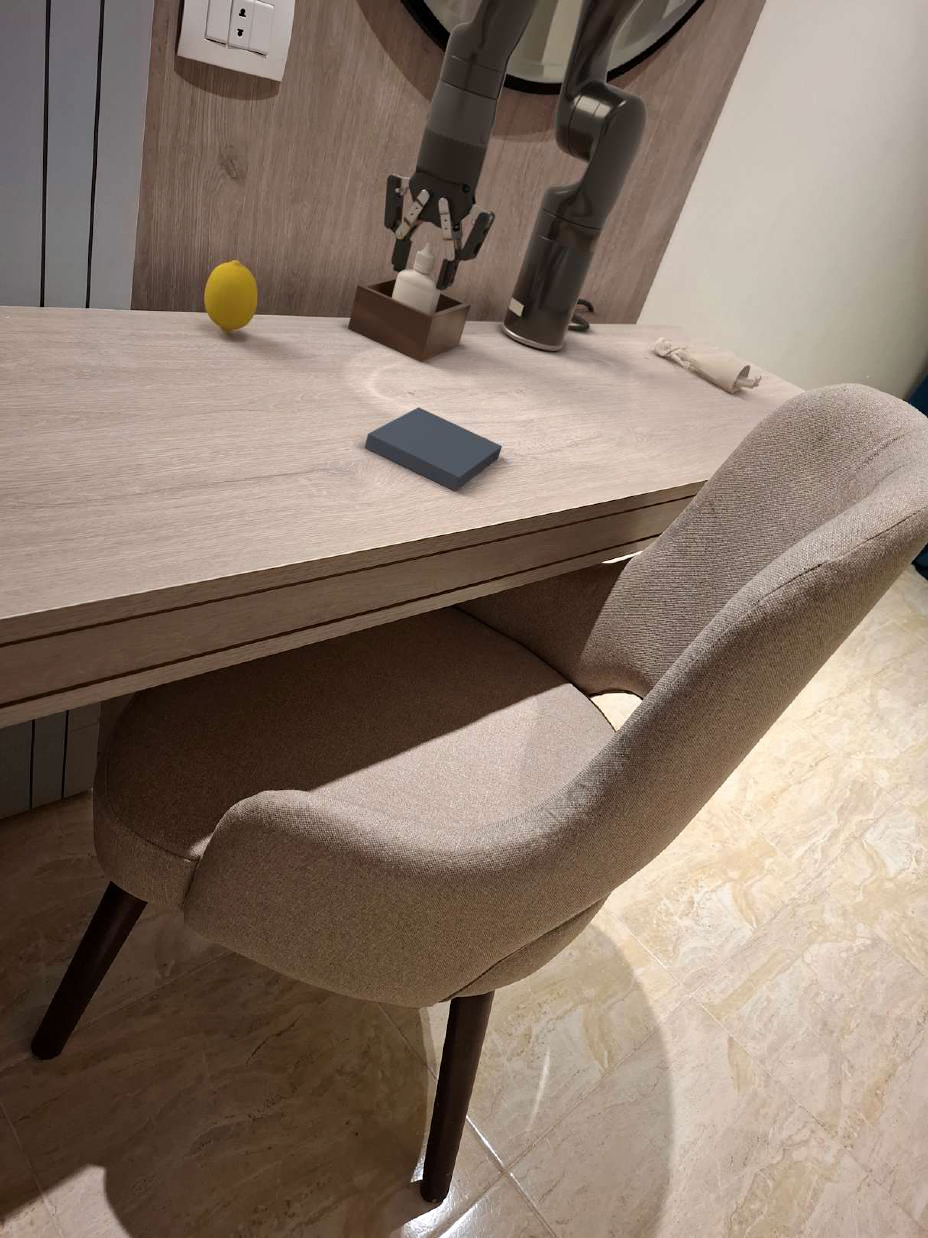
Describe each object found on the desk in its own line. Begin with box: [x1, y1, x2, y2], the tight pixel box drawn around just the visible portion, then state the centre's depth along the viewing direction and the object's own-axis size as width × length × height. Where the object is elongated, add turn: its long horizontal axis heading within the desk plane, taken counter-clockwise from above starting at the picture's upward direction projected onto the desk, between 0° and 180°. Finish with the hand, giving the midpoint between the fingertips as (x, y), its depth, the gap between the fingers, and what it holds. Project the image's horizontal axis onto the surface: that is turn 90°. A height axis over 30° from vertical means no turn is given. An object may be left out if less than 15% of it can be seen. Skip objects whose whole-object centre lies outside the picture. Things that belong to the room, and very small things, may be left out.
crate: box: [347, 274, 471, 362], centre depth 115 cm, size 12×11×6 cm
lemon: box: [203, 259, 259, 334], centre depth 98 cm, size 6×6×8 cm
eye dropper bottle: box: [392, 241, 442, 315], centre depth 113 cm, size 4×6×12 cm
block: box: [364, 406, 503, 492], centre depth 90 cm, size 11×10×2 cm
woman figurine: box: [653, 337, 762, 394], centre depth 143 cm, size 12×4×18 cm
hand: (419, 279), depth 113 cm, fingers closed on eye dropper bottle, 5 cm apart
